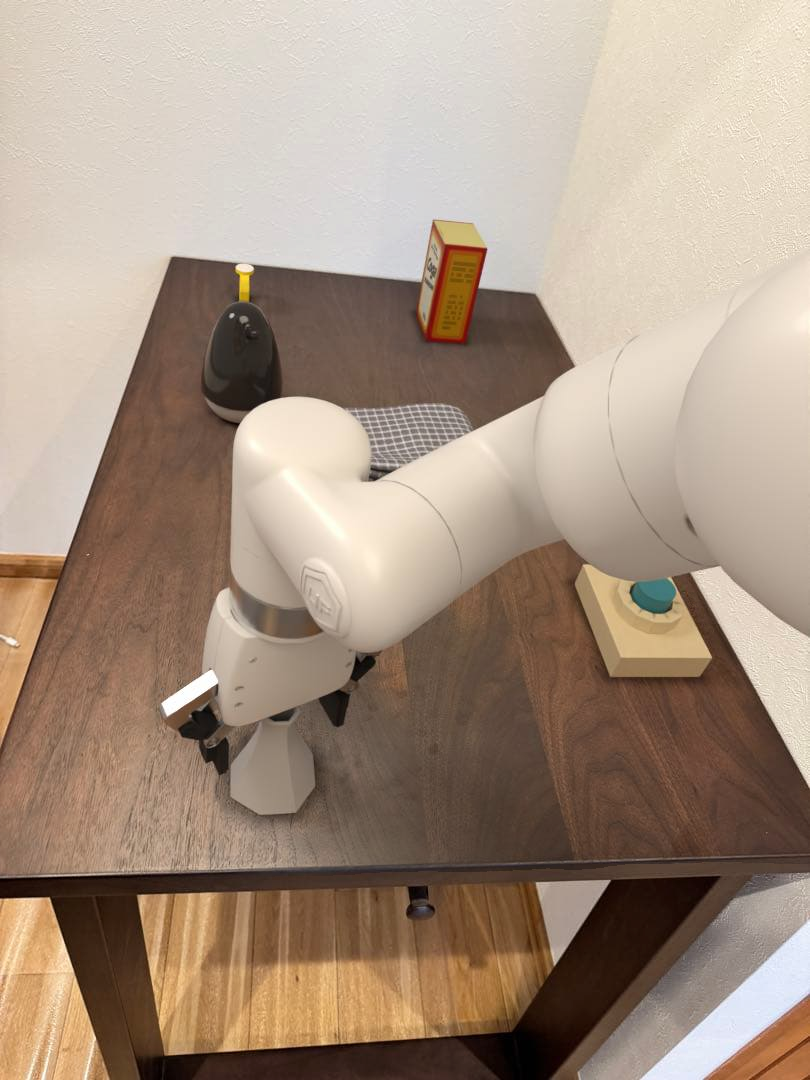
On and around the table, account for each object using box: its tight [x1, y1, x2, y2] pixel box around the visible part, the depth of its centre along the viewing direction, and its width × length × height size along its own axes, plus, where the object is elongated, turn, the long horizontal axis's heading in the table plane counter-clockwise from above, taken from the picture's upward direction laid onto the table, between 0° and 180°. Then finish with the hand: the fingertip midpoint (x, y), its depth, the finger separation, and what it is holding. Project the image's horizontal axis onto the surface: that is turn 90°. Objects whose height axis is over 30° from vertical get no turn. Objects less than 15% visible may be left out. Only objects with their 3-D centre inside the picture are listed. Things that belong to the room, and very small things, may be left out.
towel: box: [342, 402, 475, 482], centre depth 94 cm, size 15×18×8 cm
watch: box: [234, 263, 255, 302], centre depth 122 cm, size 6×3×6 cm, turn 9°
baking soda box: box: [415, 218, 488, 344], centre depth 124 cm, size 10×6×16 cm
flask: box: [229, 705, 316, 816], centre depth 62 cm, size 7×7×10 cm
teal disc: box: [631, 578, 676, 614], centre depth 81 cm, size 4×4×2 cm
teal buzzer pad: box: [574, 563, 713, 678], centre depth 83 cm, size 13×10×5 cm
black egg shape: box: [200, 300, 284, 424], centre depth 97 cm, size 10×10×15 cm
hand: (275, 734), depth 61 cm, fingers open, 9 cm apart
